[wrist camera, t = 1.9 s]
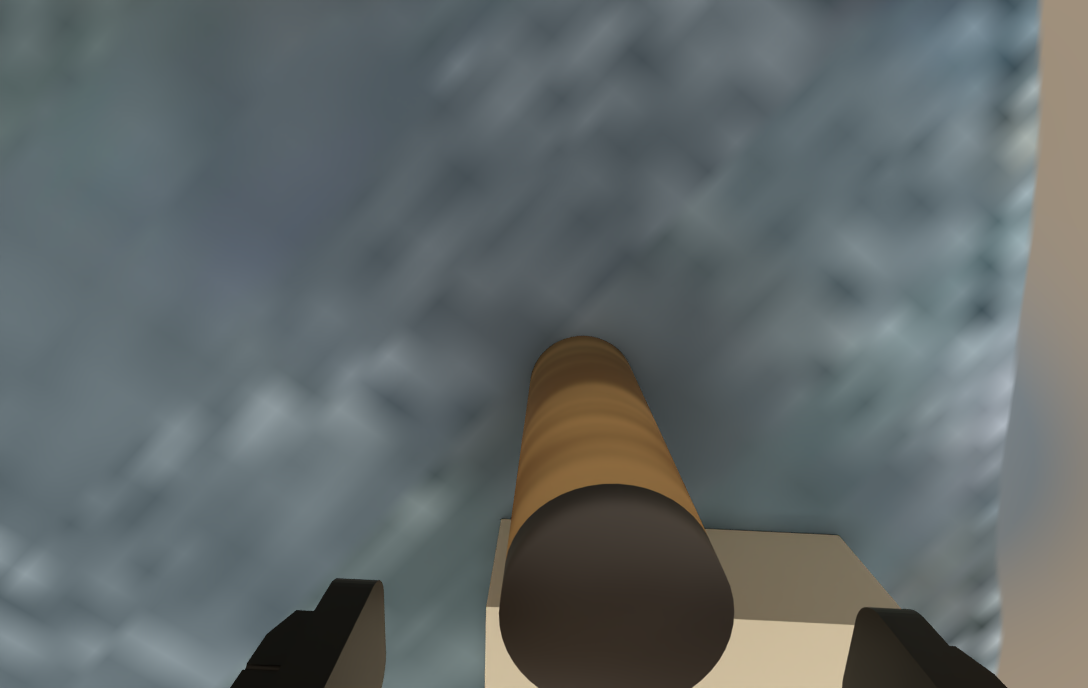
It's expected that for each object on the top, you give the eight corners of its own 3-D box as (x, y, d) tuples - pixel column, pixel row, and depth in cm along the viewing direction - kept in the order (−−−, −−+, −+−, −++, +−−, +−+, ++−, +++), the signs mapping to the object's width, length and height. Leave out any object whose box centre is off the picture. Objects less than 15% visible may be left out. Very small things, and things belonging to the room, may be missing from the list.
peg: (532, 333, 20) (500, 509, 9) (638, 338, 20) (749, 521, 9) (528, 431, 21) (496, 705, 10) (629, 435, 21) (718, 717, 10)
